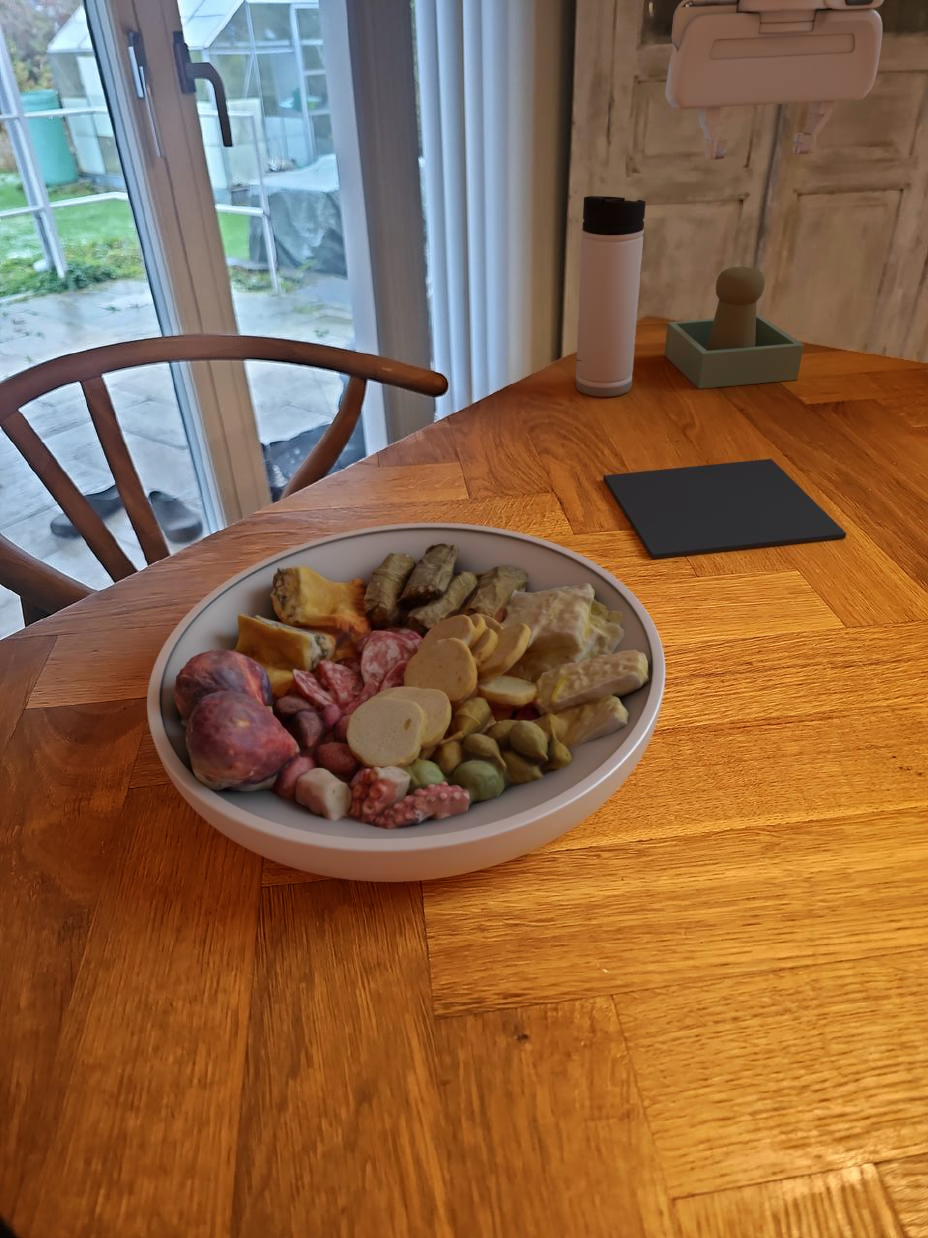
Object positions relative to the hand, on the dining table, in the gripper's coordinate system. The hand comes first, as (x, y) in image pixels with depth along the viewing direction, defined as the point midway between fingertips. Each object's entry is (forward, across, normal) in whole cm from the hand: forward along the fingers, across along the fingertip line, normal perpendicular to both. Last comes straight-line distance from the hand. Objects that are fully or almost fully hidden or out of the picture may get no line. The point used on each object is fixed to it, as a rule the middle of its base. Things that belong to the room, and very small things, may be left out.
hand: (758, 155), depth 87 cm
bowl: (+22, -42, -53) cm, 71 cm away
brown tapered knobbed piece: (+22, 0, 0) cm, 22 cm away
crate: (+22, 0, 0) cm, 22 cm away
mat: (+22, -14, -32) cm, 41 cm away
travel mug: (+22, -16, -3) cm, 27 cm away
